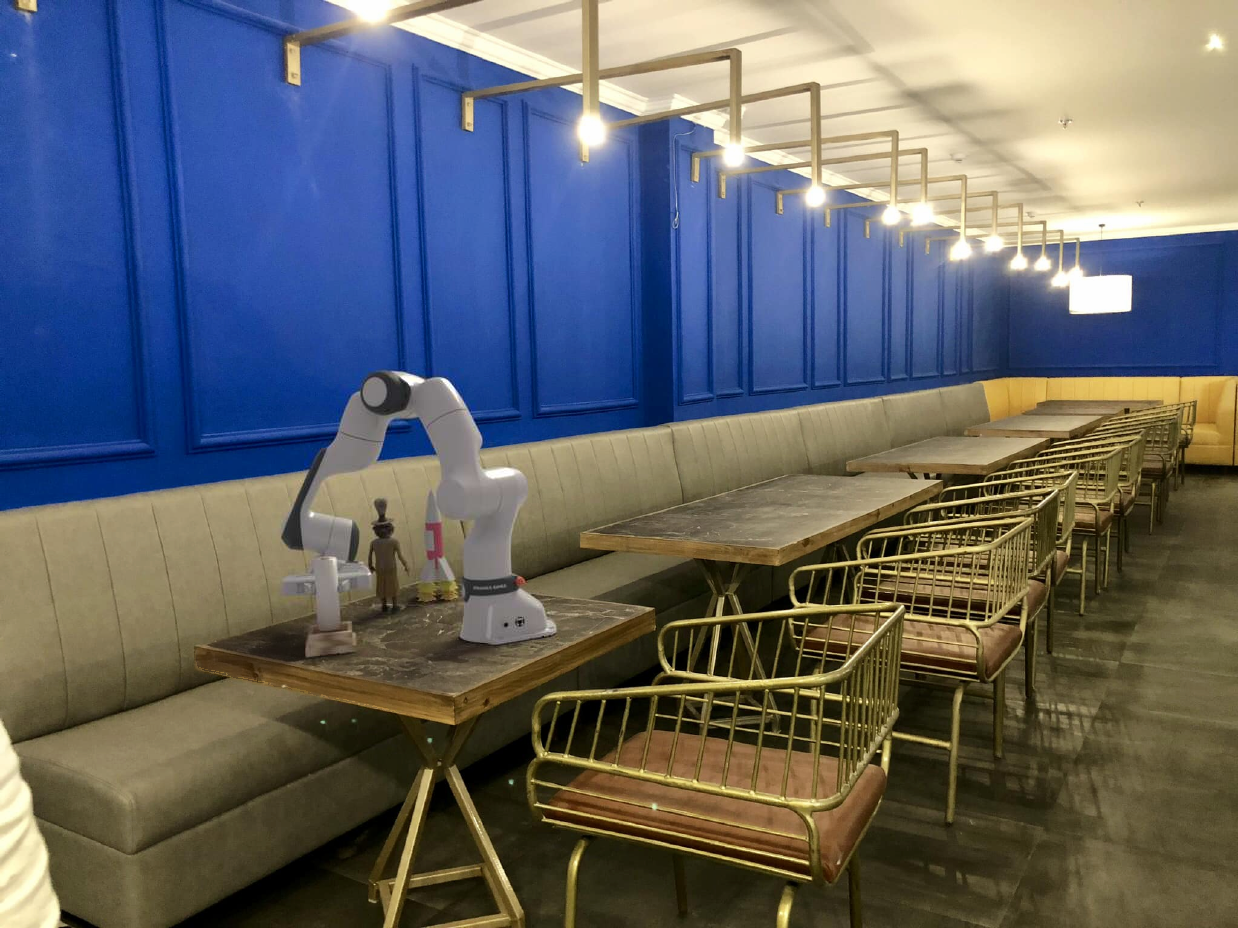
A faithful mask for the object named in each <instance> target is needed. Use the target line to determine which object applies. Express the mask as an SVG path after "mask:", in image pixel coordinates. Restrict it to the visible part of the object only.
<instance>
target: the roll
mask: <svg viewBox="0 0 1238 928" xmlns="http://www.w3.org/2000/svg"><path fill="white" fill-rule="evenodd" d="M314 574H315V588H316V594H315V602H316V604H315V605H316V618H317V625H318V630H322V631H329V630H335V629H338V628H340V627H341V610H340V609H341V607H340V606H341V605H340V593H339V592H338V573H337V558H336V557H320V558H316V559H314Z"/></svg>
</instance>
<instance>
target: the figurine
mask: <svg viewBox="0 0 1238 928" xmlns="http://www.w3.org/2000/svg"><path fill="white" fill-rule="evenodd" d="M373 505H374V508H375V510H376V512H377V515H378V519H376V520H372V521H371V522H370V525H371V526H372V531H373V532H374V534H375V536H376V537H378V538H375V539H374V540H372V541H370V545H369V551H368V556H367V562H368V563H367V568H368V569H369V570H370V572H371V574H373V573H374V572H375V574H376V575H375V577H376V582H375V583H376V585H375V586H376V587H375V597H376V599H380V601H381V609H380V614H387V613H389V612H390V611H391V612H390V613H391V614H399V613H400V612H402V611H403V610H405V609H407V608H406V607H407V605H406V604H398V597H399V596H400V595H401V588H400V583H399V577H398V567H397V565H398V564H397V559H396V555H397V558H398V560H399V561H400V563H401V565H402V567H404V572H406V574H407V577H408V578H410V575H409V574H410V571H411V567H410V566H409V565H408V562H407V561H406V559H405V558H404V556H403V553H402V551H401V545H400V542H399V540H398V539H397V538H395V537H392V535H393V534H394V533H395V526H394V525H393V522H394V518H391V517H386V513H387V512H386V511H387V509H388V500H387V499H386V498H382V497H377V498H375V499H374V501H373ZM373 553H374V556H375V562H374V563H375V564H373ZM373 565H374V566H373ZM387 599H391V601H392V604H389V605H387ZM401 610H402V611H401Z"/></svg>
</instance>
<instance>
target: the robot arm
mask: <svg viewBox="0 0 1238 928" xmlns="http://www.w3.org/2000/svg"><path fill="white" fill-rule="evenodd" d="M394 419H400V420H418V419H419V420H420V421H421V423H422V425H423V428H424V430H425V432H426V434H427V436H428V438H429V440H430V443H431V445H432V446H433V448H434V451H435V453H436V455H437V458H438V462H439V465H440V471H441V472H440V473H441V476H440V482H439V484H438V486H437V488H436V493H435V496H436V503H437V507H438V509H439V512H440V515H442V516H443V517H445V518H446V519H448V520H450V521H460V522H461V521H462V522H463V521H465V522H466V521H467V522H469V521H473V525H472V528H471V530H470V532H469V533H468V535H467V536H466V537H465V539H464V540H463V542H462V550H461V551H462V563H463V564H462V567H463V568H462V569H463V576H462V577H461V578H462V582H461V592H462V593H461V594H462V600H463V602H464V603H463V605H464V606H463V618H462V623H461V624H462V625H461V629H460V630H461V631H460V633H459V634H460V635H459V637H460V638H461V639H462V640H464V641H467V642H473V643H485V644H488V645H504V644H509V643H514V642H520V641H526V640H530V639H531V638H532V639H537V638H542V636H544V637H549V635H550V636H553V634H554V633H555V634H557V629H558V628H557V625H556V623H555V622H554V621H553V620H551V619H548V618H547V613H546V611H545V607H544V605H543V604H542V602H541V601H540V600H539V599H537V598H535V597H534V596H533V595H531V594H529V593H528V592H527V591H525V590H524V589H522V588H521V587H524V585H526V581H525V578H523V577H522V576H520V575H518V574H516V573H514V572H512V556H511V555H512V552H511V551H512V549H511V547H512V546H511V542H512V536H513V535H512V534H513V531H514V526H515V521H516V519H517V515H518V513H519V510H520V509H521V507H522V506H523V504H524V503H525V502H526V500H527V498H528V495H529V483H528V481H527V478H526V476H525V474H523V472H522V471H520V470H518V469H517V468H513V467H506V466H494V467H489V468H483V467H482V466H481V463H480V461H479V455H478V453H479V451H480V450H481V447H482V445H483V436H482V434H481V432H480V430H479V428H478V426H477V425H476V424H477V423H476V422H475V421H474V418H473V416H472V415H471V413H470V411H469V408H468V407H467V405H466V402H464V400H463V398H462V396H461V395H460V394H459V392H458V391H457V389H456V388H455V387H454V386H453V384H452V383H451V382H450V380H448V379H446V378H444V377H439V376H437V377H431V378H426V377H424V376H421V375H415V374H413V373H412V374H411V373H408V372H405V371H396V370H395V371H393V370H387V369H386V370H385V369H384V370H383V369H382V370H376V371H374V372H371V373H369V374H368V375H367V376H365V378H364V379H363V380H362V382H361V384H360V389H359V391H357V392H354V393H353V394H352V395H351V397H350V398H349V401H348V403H347V404H346V407H345V409H344V412H343V415H342V417H341V420H340V424H339V427H338V431H337V434H336V437H335V438H334V440H333V441H332V442H331V443H330V445H329V446H326V447H324V448H320V449H319V451H318V452H317V454H316V456H315V458H314V460H313V462H312V463H311V466H310V467H309V469H308V472H307V474H306V476H305V478H304V480H303V483H302V484H301V487H300V489H299V492H298V494H297V496H296V498H295V501H294V503H293V506H292V507H291V509H290V510H289V512H288V514H287V515H286V517H285V518H284V520H283V523H282V526H281V530H280V539H281V540H282V542H283V543H284V545H285V546H286V547H287V548H288V549H289V550H291V551H292V550H294V551H302V552H304V551H307V552H310V553H311V552H312V553H317V554H316V555H315V556H314V557H313V558H312V560H311V562H310V564H309V568H308V569H309V570H308V573H302V574H301V573H299V574H291V575H287V576H285V577H284V578H282V580H281V582H280V583H281V595H282V596H283V597H292V596H293V597H296V596H303V595H304V596H305V595H309V596H312V595H316V588H315V574H314V559H316V558H320V557H336V558H337V573H338V592H339V594H343V593H345V592H350V591H359V590H369V589H372V587H373V579H372V573H371V572H370V570H369V569H368V568H369V567H368V566H366V565H365V564H364V562H363V561H359V560H356V557H357V553H358V550H359V547H360V546H359V545H360V530H359V529H360V528H359V526H358V525H357V523H356V521H355V520H354V519H350V518H345V517H341V516H337V515H330V514H324V513H320V512H315V511H313V510H312V509H311V507H312V505H313V502H314V501H315V499H316V497H317V494H318V492H319V490H320V487H321V485H322V483H323V482H324V481H325V480H326V479H328V478H330V477H332V476H335V475H339V474H348V473H354V472H355V473H356V472H359V471H363V470H365V469H368V468H369V467H372V466H373V465H375V463H376V462H377V460H378V459H379V456H380V455H381V451H382V448H383V444H384V441H385V437H386V432H387V429H388V426H389V424H390V422H392V421H393V420H394ZM555 634H554V635H555ZM532 639H531V640H532Z"/></svg>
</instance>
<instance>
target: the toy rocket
mask: <svg viewBox="0 0 1238 928" xmlns="http://www.w3.org/2000/svg"><path fill="white" fill-rule="evenodd" d="M434 491H435V490H434V489H433V488H431V489H430V490H429V492H428V496H427V500H426V501H427V502H426V509H425V520H424V525H425V528H424V530H423V539H424V540H423V541H424V550H425V551H426V560H425V562H424V565H423V567H422V570H421V572H420V573H419V576H418V579H419V583H418V585H417V586H416V588H418V591H417V592H419V593H418V594H417V596H416V598H419V599H418V600H417V601H425V602H428V601H432V600H435V601H437V600H436V599H437V598H436V597H435V596H436V595H437V594H436V593H434V592H436V591H438V589H437V587H439V586H440V588H439V591H441V592H439V594H443V595H441V597H440V598H439V600H440V599H445V600H444V601H448V600H451V601H453V600H452V599H454V598H457V599H459V598H458V597H459V595H458V591H456V590H457V589H459V587H458V585H457V582H456V581H455V580H456V578H455V575H454V572H453V570H452V568H451V567H450V565H449V563H448V561H447V559H446V557H445V555H444V541H443V525H442V524H443V522H442V517H441V512H440V511H439V509H438V507H437V503H436V493H435V492H434ZM436 570H437V573H436ZM436 574H437V575H436ZM436 576H437V577H436ZM437 578H438V581H439V582H438V584H437V587H436V584H435V583H434V582H435V581H437ZM455 593H457V594H455ZM433 595H435V596H433ZM454 600H455V599H454ZM425 602H424V603H425ZM432 602H433V601H432Z"/></svg>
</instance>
